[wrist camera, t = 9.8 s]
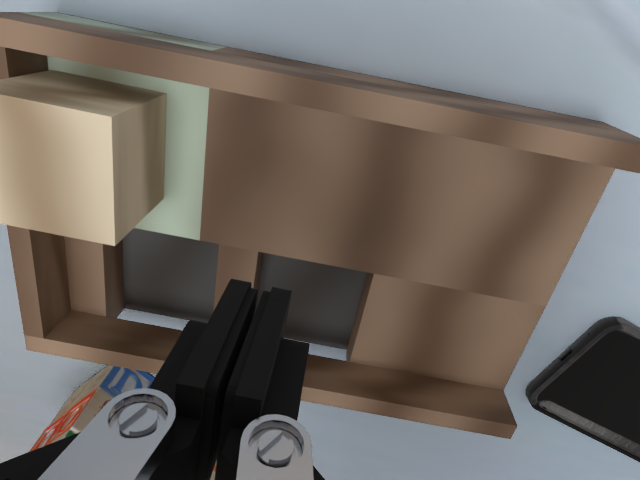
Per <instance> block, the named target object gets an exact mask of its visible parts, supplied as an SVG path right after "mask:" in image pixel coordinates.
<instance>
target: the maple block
mask: <svg viewBox="0 0 640 480" xmlns="http://www.w3.org/2000/svg"><path fill="white" fill-rule="evenodd" d="M166 108H167V93H163V92H159V91H154V90H149V89H144V88H139V87H134V86H129V85H124V84H119V83H115V82H110V81H105V80H100V79H95V78H90V77H85V76H80V75H76V74H71V73H66V72H61V71H56V70H48V71H43V72H38V73H32V74H27V75H22V76H16V77H11V78H6V79H0V224H5V225H10V226H15V227H20V228H25V229H30V230H35V231H41V232H46V233H51V234H56V235H61V236H66V237H71V238H76V239H81V240H86V241H92V242H97V243H102V244H107V245H112V246H116V245H117V244H118V243H119V242H120V241H121V240H122V239H123V238H124V237H125V236H126V235H127V234H128V233H129V232H130V231H131V230H132V229H133V228H134V227H135V226H136V225H137V224H138V223H139V222H140V221H141V220H142V219H143V218H144V217H145V216H146V215H147V214H148V213H149V212H151V211H152V210H153V209H154V208H155V207H156V206H157V205H158V204H159V203H160V202H161V201H162V200H163V199H164V178H165V143H166Z"/></svg>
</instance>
